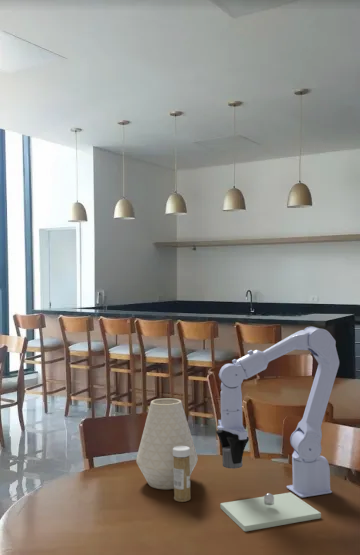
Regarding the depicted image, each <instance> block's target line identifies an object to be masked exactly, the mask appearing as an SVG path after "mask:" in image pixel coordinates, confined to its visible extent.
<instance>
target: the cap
mask: <svg viewBox="0 0 360 555" xmlns="http://www.w3.org/2000/svg"><path fill="white" fill-rule="evenodd" d="M221 456H222V467H224V468H226V469H233V470H234V469H240V468H243V460H242V461H241V463H238V464H234V463H233V461H232V455H231V449H230V446H225V447H223V450H222V455H221Z"/></svg>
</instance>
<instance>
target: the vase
mask: <svg viewBox="0 0 360 555" xmlns="http://www.w3.org/2000/svg"><path fill="white" fill-rule="evenodd" d="M184 409H185V408H184V406H183V402H182V400H181V399H179V398H170V397H169V398H167V397H166V398H156V399H153V400H151V401H150V405H149V408H148V412H147V416H146V419H145V424H144V428H143V432H142V435H141V440H140V444H139V447H138V451H137V455H136V464H137V466H138V469H139V470H140V471H141V473H142V474H143V477H144V479H145V480H146V483H147V484H148V485H149V487H151V488H153V489H158V490H163V491H164V490H169V491H170V490H174V470H173V467H174V457H173V448H174V447H176V446H188V447H189V448H190V457H189V462H190V476H191V475H192V472H193V471H194V468H195V467H196V465H197V462H198V458H199V457H198V455H197V451H196V446H195V444H194V440H193V437H192V433H191V430H190V427H189V423H188V420H187V416H186V415H187V414H186V413H185V410H184Z"/></svg>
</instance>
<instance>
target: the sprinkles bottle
mask: <svg viewBox="0 0 360 555" xmlns="http://www.w3.org/2000/svg"><path fill="white" fill-rule="evenodd" d="M173 457H174V467H173V470H174V489H173V494H174V495H173V500H174V501H175V502H178V503H179V502H180V503H184V502H188V501H190V500H191V497H192V496H191V475H190V462H189V457H190V448H189V447H188V446H176V447H174V448H173Z"/></svg>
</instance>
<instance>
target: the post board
mask: <svg viewBox="0 0 360 555" xmlns="http://www.w3.org/2000/svg"><path fill="white" fill-rule="evenodd" d="M219 505H220V506H219V508H220V510H222V511H223V512H224V513H225V514H226V515H227V516H228V518H230V519H231V520H232V521H233V522H234V523H235V524H236V525H237V526H238V527H239V528H240V529H241V530H242V532H243V531H244V532H249V531H256V530H261V529H268V528H273V527H274V528H275V527H278V526H283V525H284V526H285V525H290V524H294V523H300V522H307V521H311V520H312V521H313V520H318V519H322V513H321V512H320V511H319V510H317V509H316V508H315V507H313V506H311V505H310V504H308V503H307V502H305V500H302V499H301V497H299V496H298V495H295V493H293V492H292V491H291V492H284V493H279V494H272V493H270V492H268V493H265V495H263V496H259V497H253V498H246V499H238V500H233V501H226V502H221V503H219Z"/></svg>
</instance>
